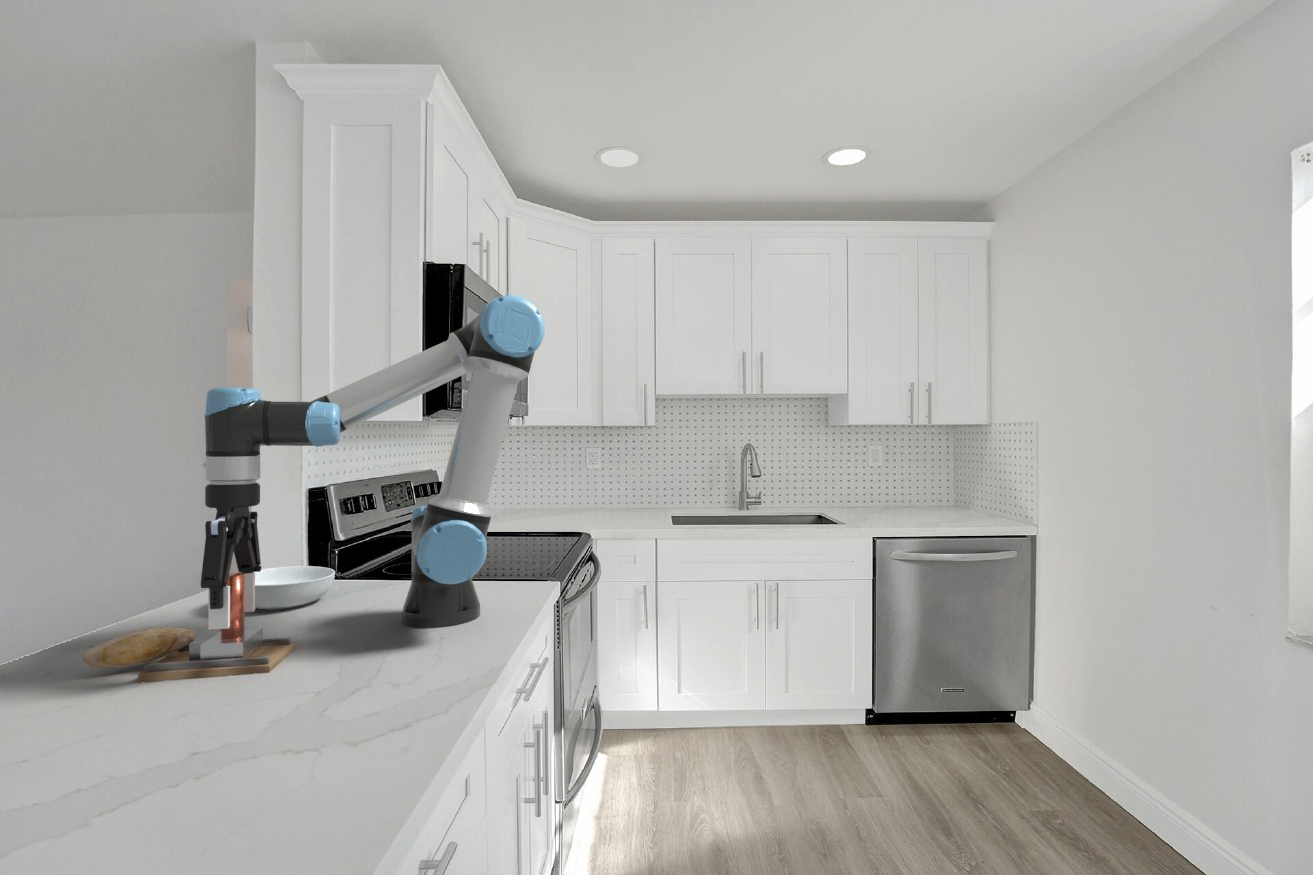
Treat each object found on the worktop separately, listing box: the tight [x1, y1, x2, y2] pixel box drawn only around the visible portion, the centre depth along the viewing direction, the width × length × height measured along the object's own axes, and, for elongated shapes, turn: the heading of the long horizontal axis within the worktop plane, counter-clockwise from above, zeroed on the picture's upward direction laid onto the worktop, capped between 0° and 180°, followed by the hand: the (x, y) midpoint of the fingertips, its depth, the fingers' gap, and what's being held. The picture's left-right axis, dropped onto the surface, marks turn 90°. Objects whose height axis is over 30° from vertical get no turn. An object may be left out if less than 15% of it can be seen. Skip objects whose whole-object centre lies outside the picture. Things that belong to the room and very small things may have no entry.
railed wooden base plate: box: [137, 637, 296, 684], centre depth 105 cm, size 18×12×2 cm, turn 102°
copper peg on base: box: [189, 572, 263, 661], centre depth 105 cm, size 8×8×13 cm
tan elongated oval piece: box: [81, 626, 197, 669], centre depth 104 cm, size 5×14×4 cm
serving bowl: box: [253, 565, 336, 611], centre depth 143 cm, size 21×21×7 cm
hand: (232, 619), depth 106 cm, fingers open, 9 cm apart
